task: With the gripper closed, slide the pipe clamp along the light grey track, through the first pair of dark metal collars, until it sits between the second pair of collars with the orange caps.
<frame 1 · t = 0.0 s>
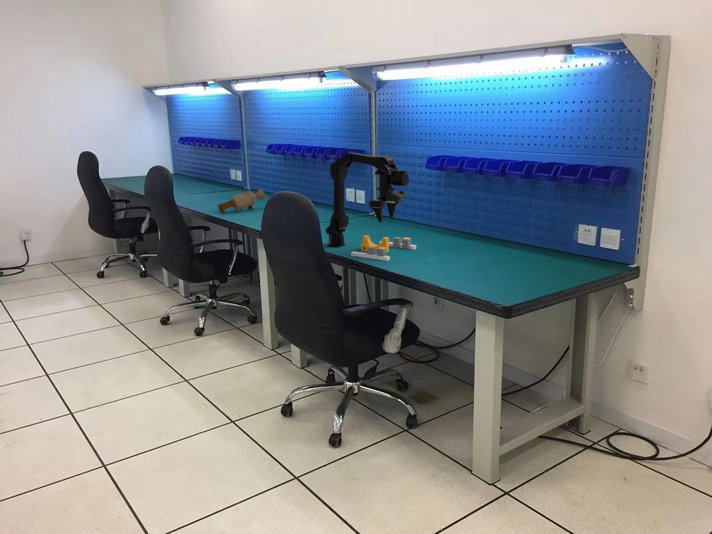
hand: (386, 220, 259), 15 cm above the table, tool pointing down, fingers open, 9 cm apart
pipe clamp: (375, 251, 267), on the table
brown toy figure: (242, 211, 382), on the table
collar track: (384, 252, 264), on the table
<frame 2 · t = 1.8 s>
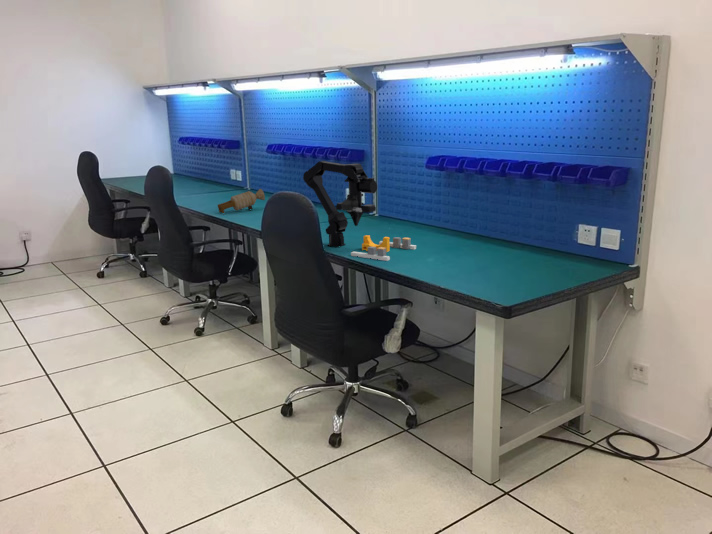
hand: (356, 225, 269), 11 cm above the table, tool pointing down, fingers closed
nothing on the table moved.
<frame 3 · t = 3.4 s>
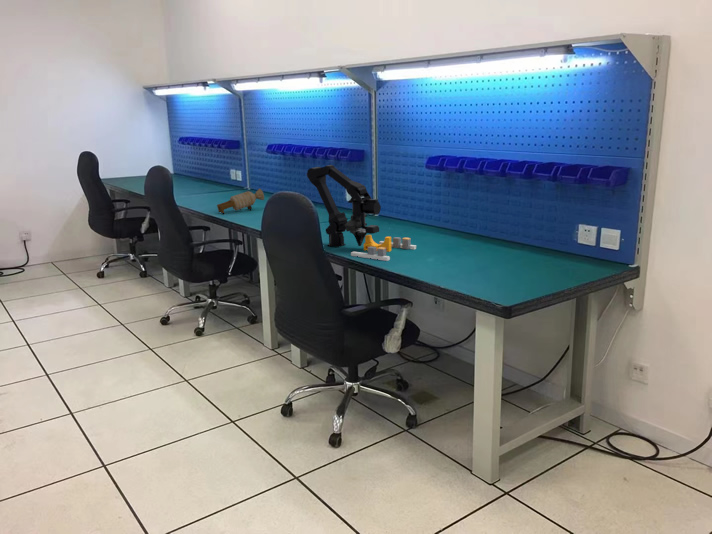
hand: (359, 246, 271), 1 cm above the table, tool pointing down, fingers closed
pipe clamp: (377, 250, 267), on the table, touching gripper
everything else where it was.
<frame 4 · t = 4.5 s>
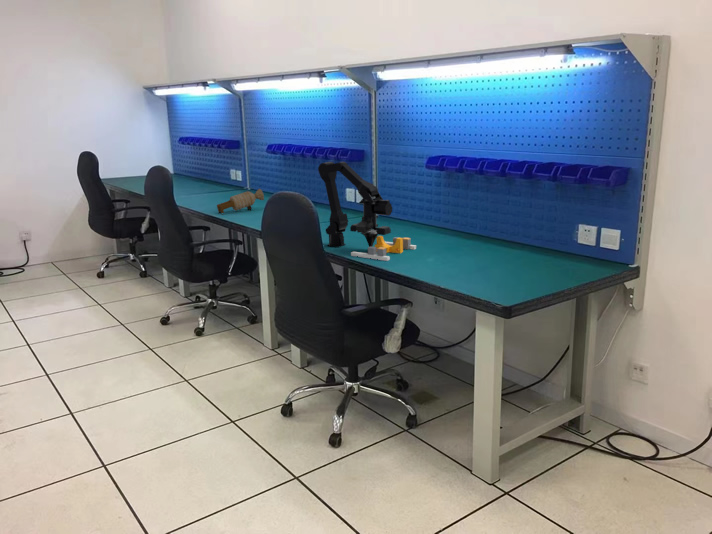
hand: (370, 247, 267), 1 cm above the table, tool pointing down, fingers closed
pipe clamp: (388, 252, 264), on the table, touching gripper
everything else where it was.
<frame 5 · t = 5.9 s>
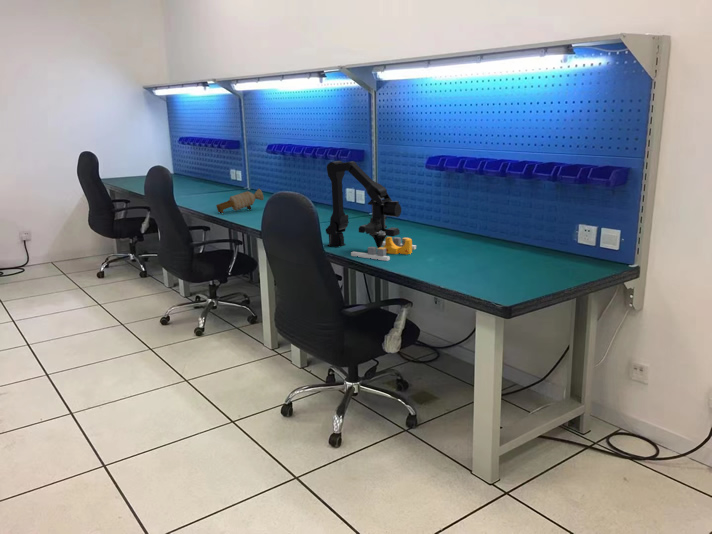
hand: (379, 248, 265), 1 cm above the table, tool pointing down, fingers closed
pipe clamp: (397, 253, 261), on the table, touching gripper
everything else where it was.
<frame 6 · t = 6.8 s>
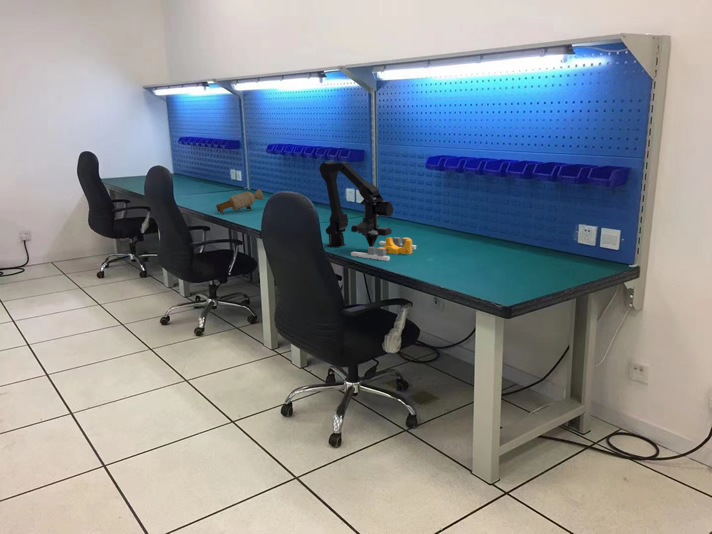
hand: (371, 248, 267), 1 cm above the table, tool pointing down, fingers closed
pipe clamp: (398, 253, 261), on the table
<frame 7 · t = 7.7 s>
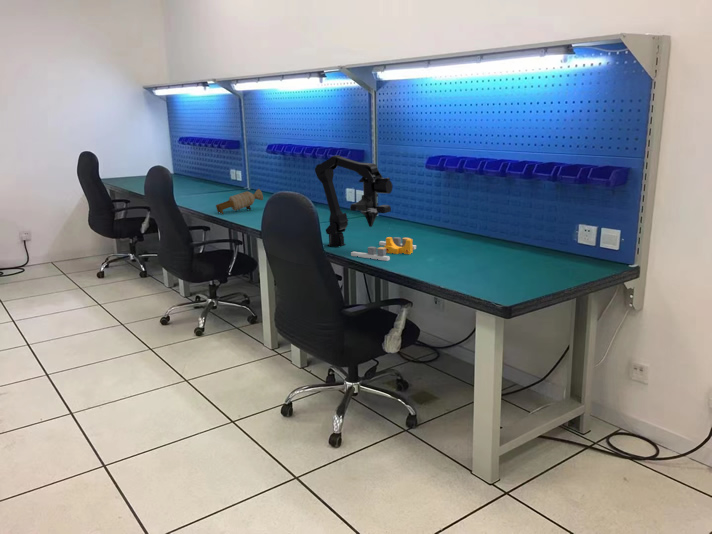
hand: (370, 226, 265), 11 cm above the table, tool pointing down, fingers closed
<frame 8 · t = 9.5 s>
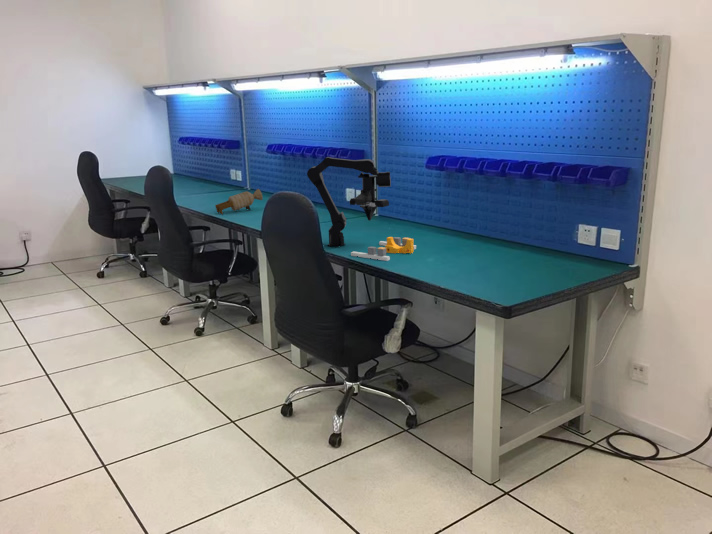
hand: (369, 220, 274), 12 cm above the table, tool pointing down, fingers closed
at the end: pipe clamp inside the target area on the collar track (2.8 cm from its centre), point 0.0 cm above the collar track's base; pipe clamp tilted 0°; pipe clamp moved 11.7 cm from its start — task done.
